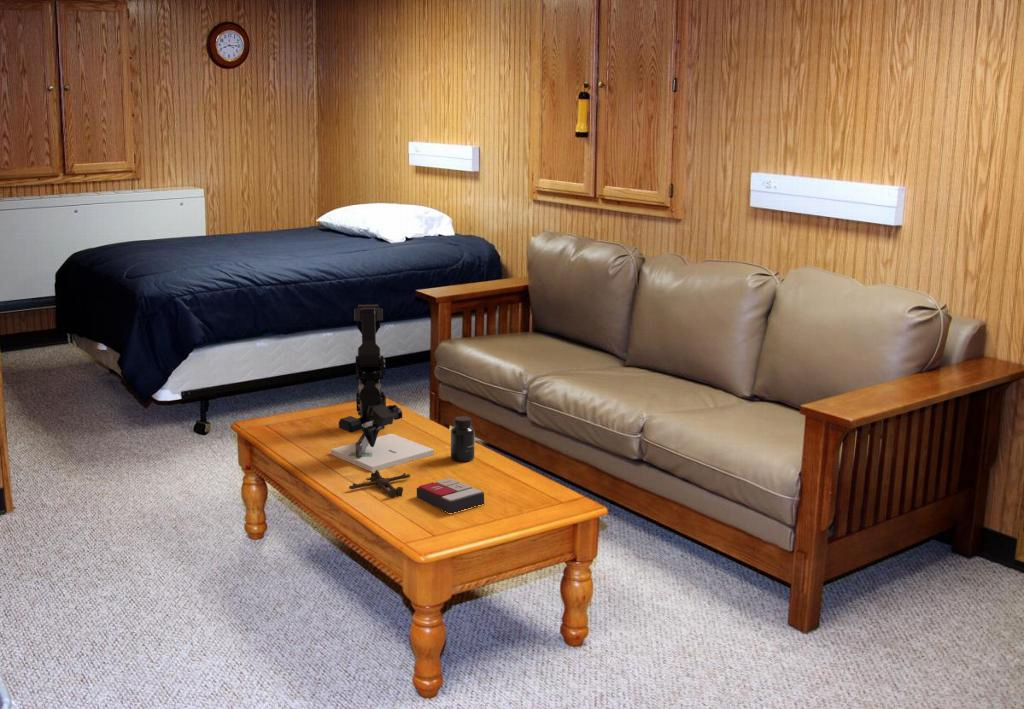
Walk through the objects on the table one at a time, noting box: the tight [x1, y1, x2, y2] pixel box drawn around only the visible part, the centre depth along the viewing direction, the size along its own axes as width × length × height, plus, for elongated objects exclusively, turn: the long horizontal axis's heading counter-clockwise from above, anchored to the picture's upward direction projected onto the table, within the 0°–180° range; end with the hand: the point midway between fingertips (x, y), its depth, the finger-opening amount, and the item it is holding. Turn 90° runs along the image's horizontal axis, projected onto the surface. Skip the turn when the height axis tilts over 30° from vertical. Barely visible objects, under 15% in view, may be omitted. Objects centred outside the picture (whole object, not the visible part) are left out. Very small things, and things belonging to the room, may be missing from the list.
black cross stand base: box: [348, 470, 411, 499], centre depth 286 cm, size 18×4×14 cm
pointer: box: [354, 432, 369, 458], centre depth 311 cm, size 16×3×4 cm, turn 176°
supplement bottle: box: [450, 416, 476, 463], centre depth 308 cm, size 7×7×12 cm
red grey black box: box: [416, 477, 485, 514], centre depth 278 cm, size 11×4×15 cm
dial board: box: [330, 433, 435, 473], centre depth 312 cm, size 20×22×2 cm
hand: (372, 446), depth 309 cm, fingers closed
